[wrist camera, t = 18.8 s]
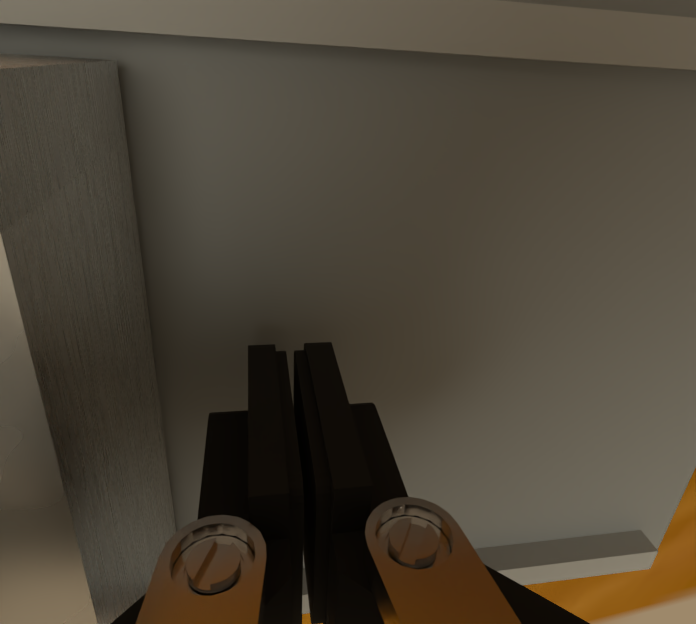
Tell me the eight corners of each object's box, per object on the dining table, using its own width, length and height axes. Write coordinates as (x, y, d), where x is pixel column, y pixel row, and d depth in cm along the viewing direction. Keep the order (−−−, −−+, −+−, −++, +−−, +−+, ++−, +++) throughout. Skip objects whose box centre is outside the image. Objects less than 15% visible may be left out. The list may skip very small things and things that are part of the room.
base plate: (847, 10, 11) (958, 2, 10) (631, 527, 18) (671, 577, 17) (-993, -169, 6) (-1465, -253, 5) (-324, 635, 13) (-410, 723, 12)
